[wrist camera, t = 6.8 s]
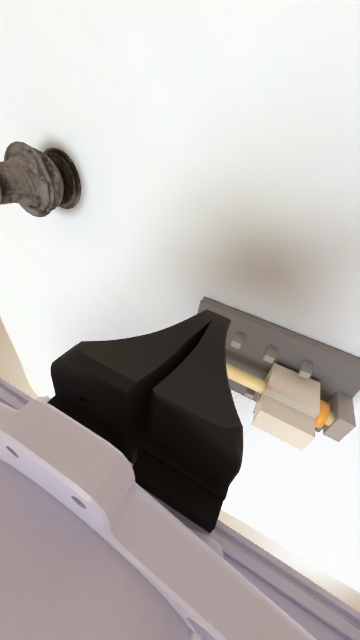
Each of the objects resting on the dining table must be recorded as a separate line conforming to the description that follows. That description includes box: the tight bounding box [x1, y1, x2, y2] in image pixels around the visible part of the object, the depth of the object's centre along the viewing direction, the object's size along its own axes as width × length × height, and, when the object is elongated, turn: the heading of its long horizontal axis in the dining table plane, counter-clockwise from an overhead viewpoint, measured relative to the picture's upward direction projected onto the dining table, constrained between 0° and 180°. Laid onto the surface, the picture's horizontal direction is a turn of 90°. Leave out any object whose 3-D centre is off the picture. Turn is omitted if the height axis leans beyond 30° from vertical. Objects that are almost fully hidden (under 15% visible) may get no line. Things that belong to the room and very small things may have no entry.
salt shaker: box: [0, 142, 81, 217], centre depth 20 cm, size 6×6×12 cm
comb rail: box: [198, 297, 360, 442], centre depth 23 cm, size 9×15×4 cm, turn 80°
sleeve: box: [252, 363, 320, 450], centre depth 21 cm, size 3×4×5 cm
